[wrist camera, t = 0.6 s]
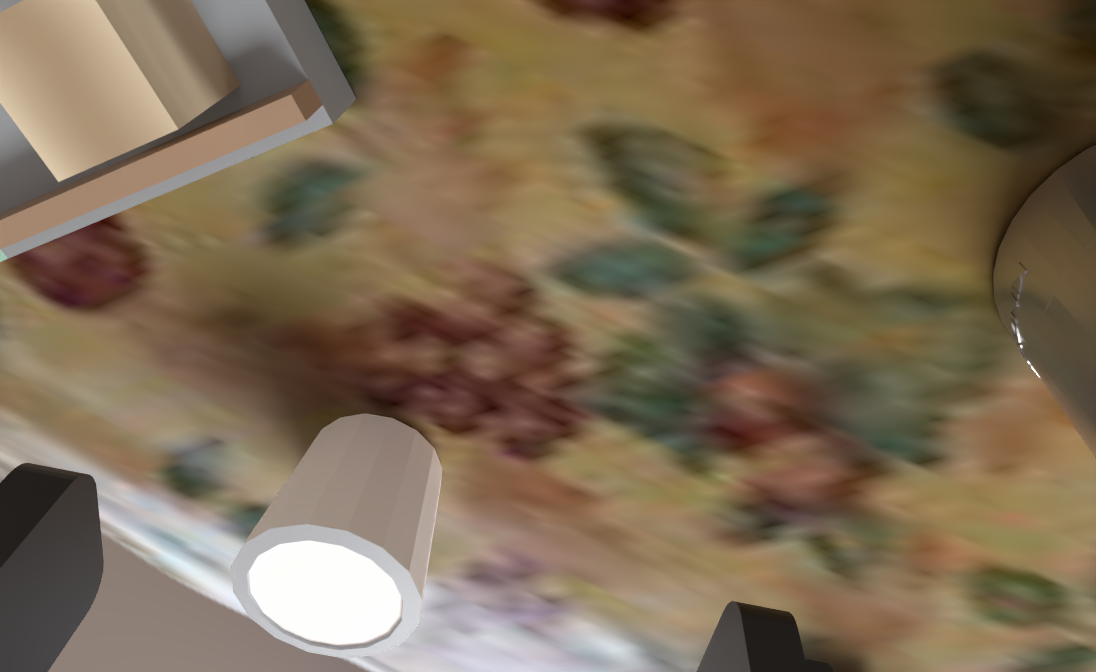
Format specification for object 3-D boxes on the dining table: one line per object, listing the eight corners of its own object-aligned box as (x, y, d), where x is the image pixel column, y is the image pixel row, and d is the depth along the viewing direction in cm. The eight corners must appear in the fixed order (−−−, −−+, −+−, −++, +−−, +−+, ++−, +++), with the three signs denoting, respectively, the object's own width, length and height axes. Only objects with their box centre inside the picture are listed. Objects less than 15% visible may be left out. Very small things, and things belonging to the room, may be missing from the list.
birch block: (159, -53, 23) (77, -28, 20) (240, 85, 25) (178, 129, 21) (48, 4, 24) (-48, 37, 21) (133, 133, 26) (58, 181, 23)
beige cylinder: (352, 542, 38) (300, 676, 32) (264, 430, 35) (189, 556, 29) (485, 502, 36) (456, 637, 30) (404, 379, 33) (354, 504, 27)
